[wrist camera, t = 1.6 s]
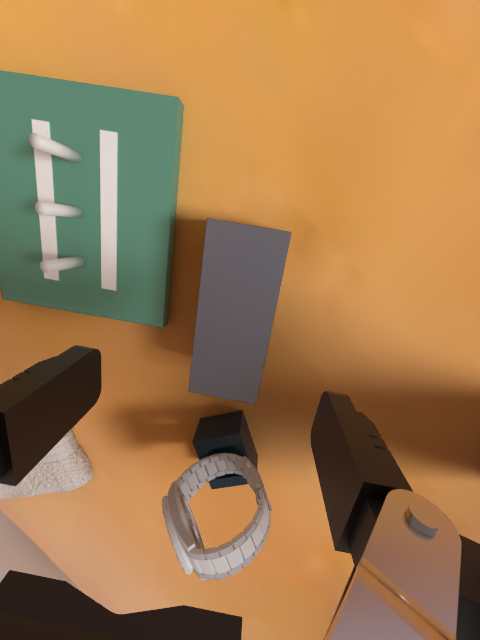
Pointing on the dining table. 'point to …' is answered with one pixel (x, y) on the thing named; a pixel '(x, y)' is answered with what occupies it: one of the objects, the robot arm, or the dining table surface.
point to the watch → (220, 471)
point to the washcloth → (54, 471)
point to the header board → (88, 197)
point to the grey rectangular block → (236, 308)
